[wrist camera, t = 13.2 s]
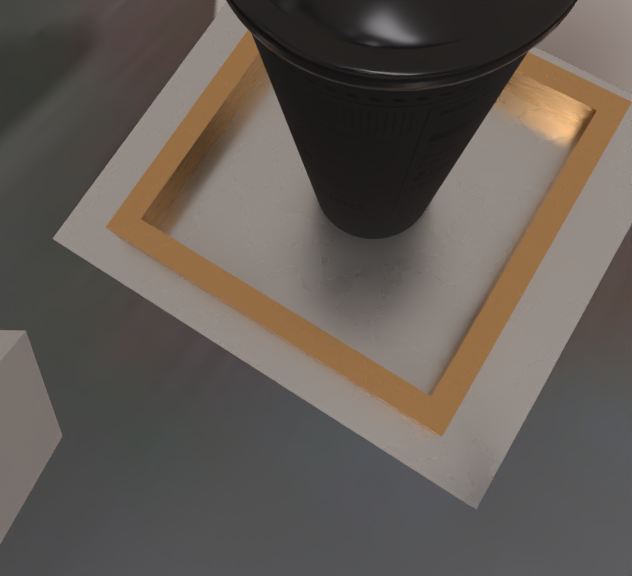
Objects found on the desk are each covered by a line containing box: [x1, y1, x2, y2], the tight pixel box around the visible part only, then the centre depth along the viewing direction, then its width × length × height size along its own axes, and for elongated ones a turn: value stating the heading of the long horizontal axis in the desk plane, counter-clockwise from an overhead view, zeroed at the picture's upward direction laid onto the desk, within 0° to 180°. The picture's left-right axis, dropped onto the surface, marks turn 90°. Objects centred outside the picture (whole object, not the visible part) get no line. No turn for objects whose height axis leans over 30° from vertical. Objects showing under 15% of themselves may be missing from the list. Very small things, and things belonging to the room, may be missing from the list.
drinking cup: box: [226, 0, 577, 239], centre depth 15 cm, size 8×8×20 cm
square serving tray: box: [53, 3, 632, 509], centre depth 26 cm, size 20×21×6 cm
